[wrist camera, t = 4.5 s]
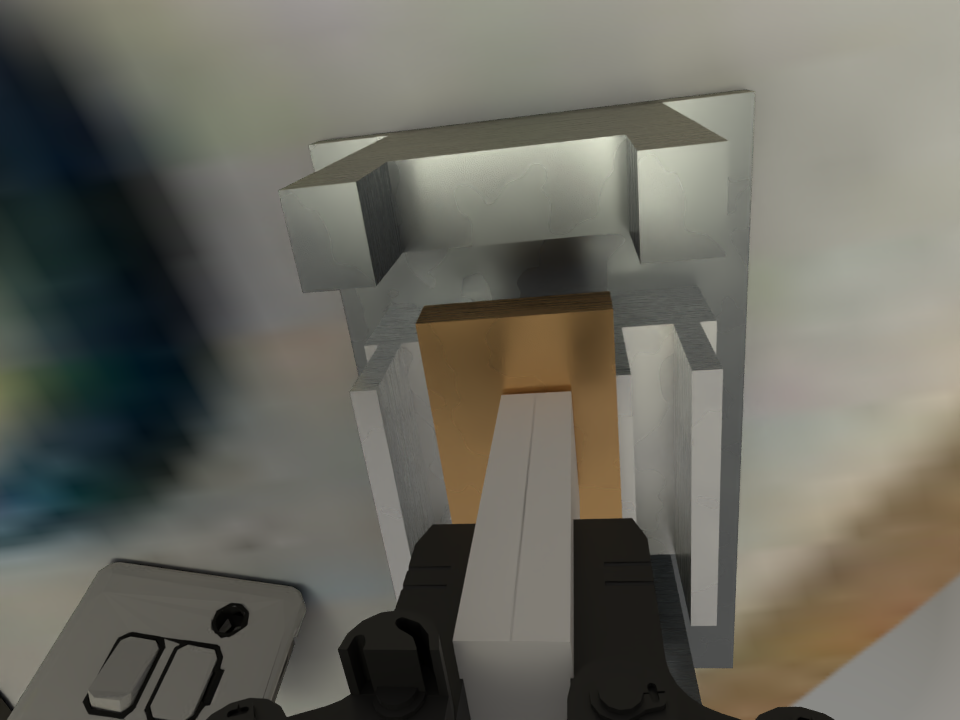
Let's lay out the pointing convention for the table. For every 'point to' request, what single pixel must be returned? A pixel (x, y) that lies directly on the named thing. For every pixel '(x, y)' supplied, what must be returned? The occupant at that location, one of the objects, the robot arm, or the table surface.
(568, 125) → the base
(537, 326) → the strap
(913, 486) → the table surface
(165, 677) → the electrical switch
